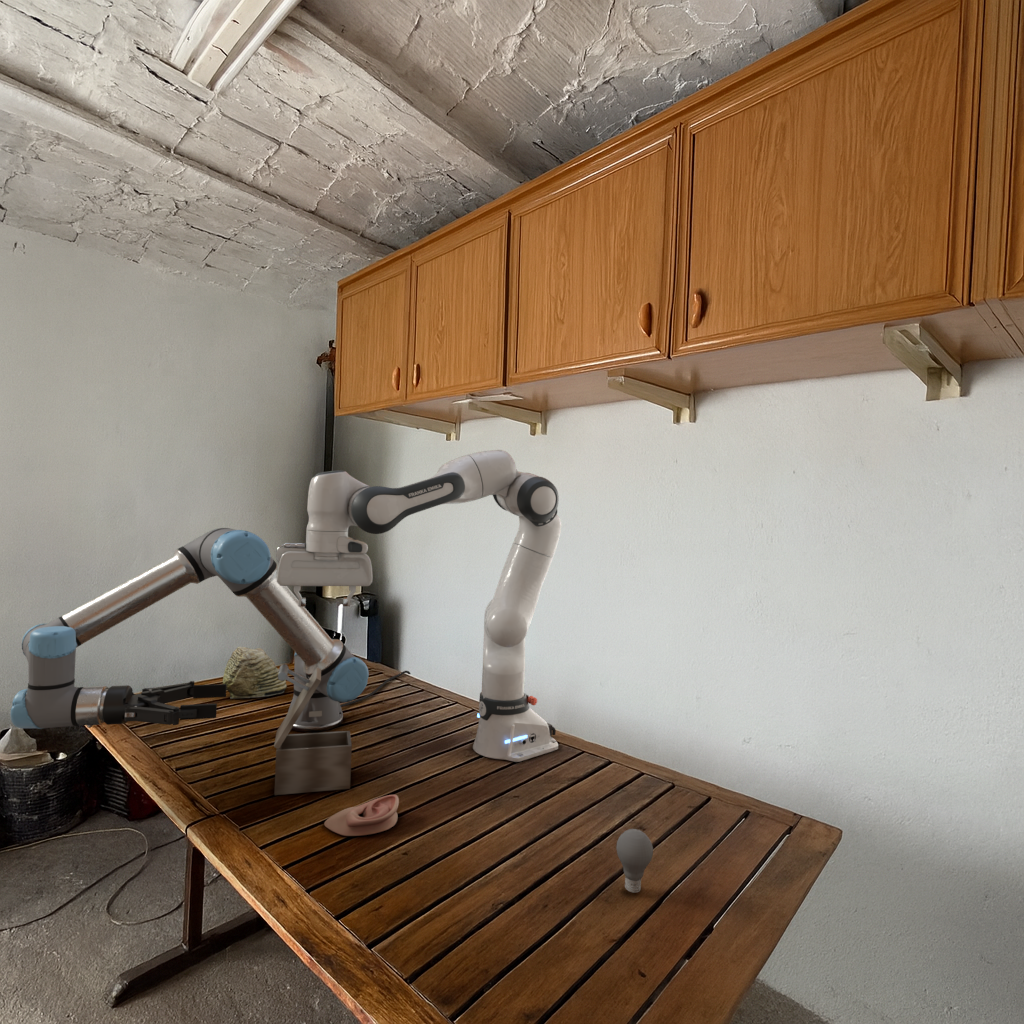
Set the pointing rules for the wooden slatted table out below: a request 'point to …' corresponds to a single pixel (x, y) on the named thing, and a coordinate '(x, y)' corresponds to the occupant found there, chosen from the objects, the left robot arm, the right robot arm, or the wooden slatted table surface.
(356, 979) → the wooden slatted table surface
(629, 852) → the light bulb
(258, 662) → the fossil
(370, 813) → the anatomical model
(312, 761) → the chest
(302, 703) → the lid
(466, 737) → the wooden slatted table surface
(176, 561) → the left robot arm
